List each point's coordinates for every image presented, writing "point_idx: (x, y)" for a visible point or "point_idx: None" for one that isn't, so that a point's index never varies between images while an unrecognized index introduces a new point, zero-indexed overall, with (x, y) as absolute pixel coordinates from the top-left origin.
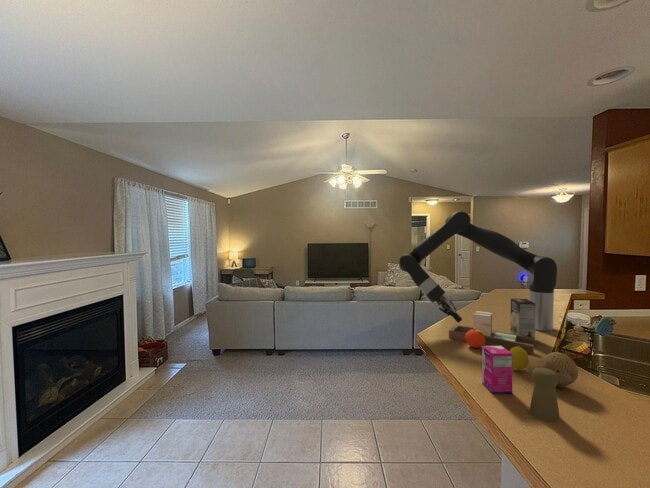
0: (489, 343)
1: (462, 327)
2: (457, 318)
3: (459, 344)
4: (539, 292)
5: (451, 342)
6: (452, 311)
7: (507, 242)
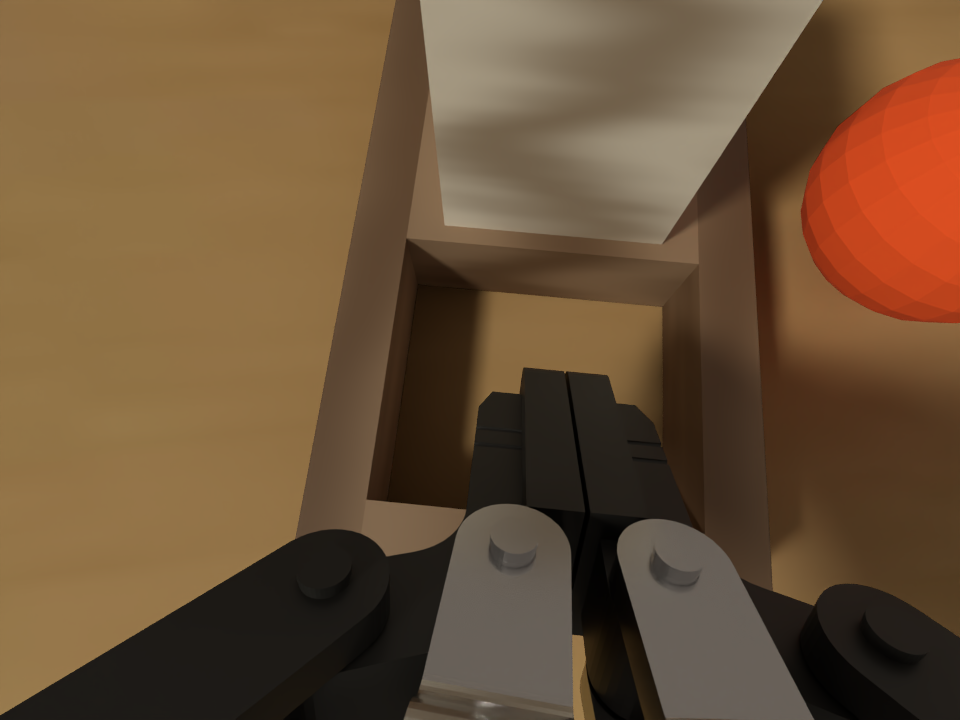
0: None
1: (379, 426)
2: (656, 460)
3: (889, 421)
4: None
5: (886, 526)
6: (911, 626)
7: None
